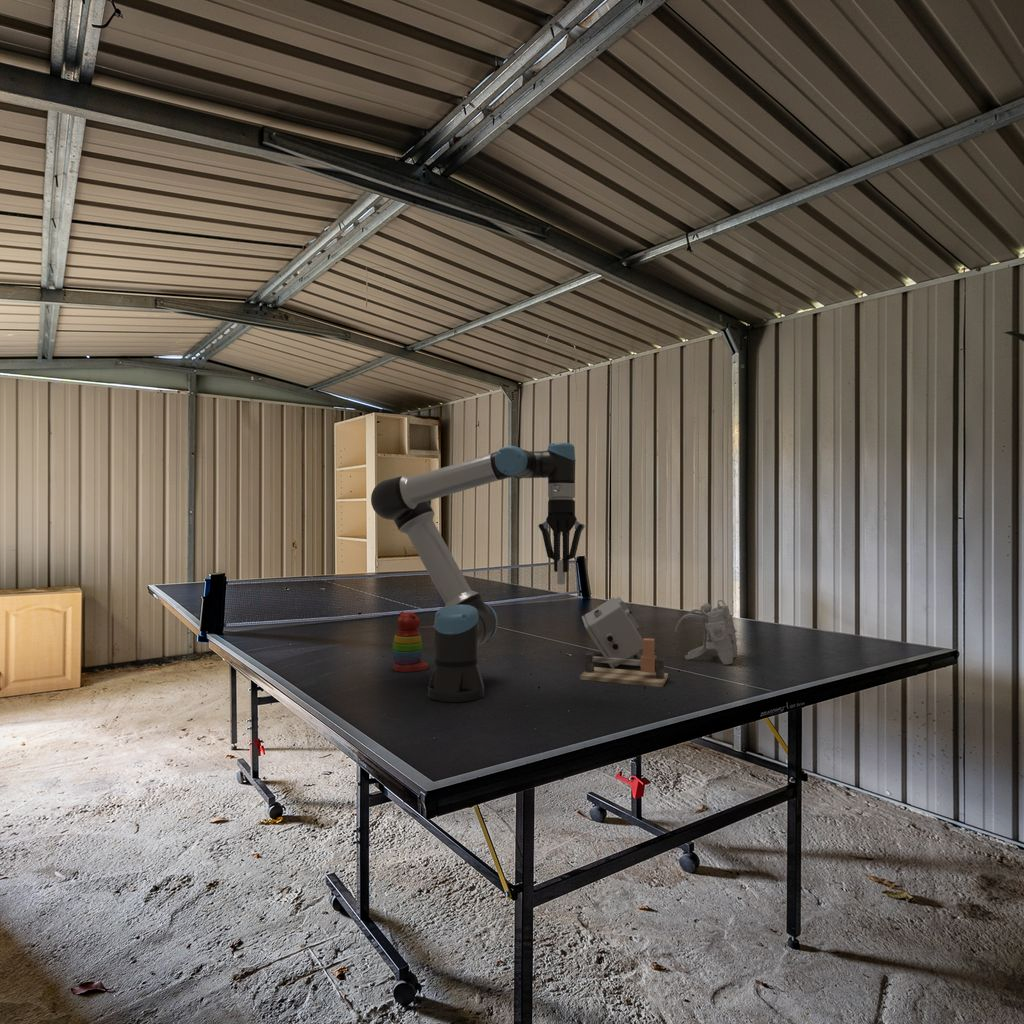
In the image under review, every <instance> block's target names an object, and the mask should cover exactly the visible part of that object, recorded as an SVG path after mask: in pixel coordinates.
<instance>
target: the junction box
mask: <svg viewBox="0 0 1024 1024" xmlns="http://www.w3.org/2000/svg"><path fill="white" fill-rule="evenodd" d="M581 619H582V623H583V625H584V627H585V628H584V629H585V630H586V631H587V632H588V635H589V637H590V638H591V640H592V641H593V642H594V643H595V645H596V647H597V649H598V650H599V652H600V653H601V654H602V655H601V656H602V657H609V658H621V659H634V660H641V656H642V655H643V652H641V651H643V639H644V638H642V636H641V634H640V633H639V631H638V630H637V629H639V628H640V625H639V623H638V621H637V620H636V619H635V617H634V616H633V612H632V610H630V609H629V608H628V606H627V605H626V603H625V601H623V599H622V598H621V597H620V596H618V597H616V598H615V597H612V598H610V599H608V600H607V601H605V602H603V603H602V604H600V605H599V606H597V607H596V608H594V609H592V610H591V611H589V612H586V613H585V614H584V615H581ZM634 656H636V657H634ZM607 664H608V665H609V666H610V668H611V669H616V667H618V666H620V665H621V664H612V663H607Z"/></svg>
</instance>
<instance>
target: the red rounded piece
mask: <svg viewBox="0 0 1024 1024" xmlns="http://www.w3.org/2000/svg"><path fill="white" fill-rule="evenodd" d="M420 624H421V620H420V618H419V616H417V614H415V613H414V612H411V611H410V612H409V611H407V612H405V611H401V612H399V616H398V617H397V627H398V630H397V631H396V632H395V635H394V636H393V642H392V647H391V649H392V656H393V662H394V663H393V666H392V669H393V670H394V671H396V672H401V673H402V672H404V673H409V672H411V673H412V672H419V671H425V670H428V669H429V667H430V665H429V663H427V662H425V661H422V660H421V658H422V654H423V642H422V636H421V634H420V633H421V632H419V630H417V629H418V628H419V627H420Z"/></svg>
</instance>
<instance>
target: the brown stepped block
mask: <svg viewBox="0 0 1024 1024" xmlns="http://www.w3.org/2000/svg"><path fill="white" fill-rule="evenodd" d="M642 639H643V649H642V656H641V666H640V671H641V672H649V673H655V672H656V667H655V661H656V659H657V658H658V657H657V655H655V651H656V650H655V648H656V647H655V642H656V641H655V640H656V639H655V638H646V637H644V638H642Z"/></svg>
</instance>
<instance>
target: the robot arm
mask: <svg viewBox="0 0 1024 1024" xmlns="http://www.w3.org/2000/svg"><path fill="white" fill-rule="evenodd" d="M575 450H576V449H575V445H574V444H572V443H570V442H553V443H552V442H551V443H549V444H548V447H547V450H540V451H538V450H537V451H536V450H535V451H532V450H531V451H529V450H526V449H523V448H520V447H518V446H517V445H506V446H503V447H501V448H500V449H499V450H497V451H495V452H492V453H488V454H484V455H481V456H477V457H474V458H471V459H467V460H465V461H461V462H458V463H454V464H451V465H448V466H443V467H440V468H437V469H434V470H430V471H427V472H424V473H419V474H417V475H414V476H408V475H405V474H404V475H402V476H401V475H400V476H397V477H393V478H388V479H384V480H382V481H380V482H379V483H377V484H376V486H375V487H374V488H373V490H372V493H371V496H370V500H371V501H370V502H371V507H372V509H373V511H374V512H375V513H376V514H377V515H378V516H379V517H381V518H382V519H385V520H390V521H391V520H392V521H393V522H394V524H395V525H396V527H397V529H398V531H399V532H400V533H403V534H405V535H407V537H408V538H409V540H410V542H411V544H412V546H413V547H414V549H415V551H416V554H417V555H418V557H419V559H420V560H421V562H422V564H423V566H424V568H425V569H426V571H427V573H428V575H429V577H430V579H431V580H432V581H431V582H433V584H434V586H435V588H436V590H437V592H438V594H439V595H440V597H441V599H442V601H443V603H444V604H445V606H443V607H441V608H439V609H438V610H437V611H436V612H435V615H434V622H433V627H434V629H433V630H434V632H433V633H434V637H433V638H434V640H433V641H434V642H433V643H434V645H433V646H434V666H433V671H432V673H431V677H430V680H429V683H428V685H427V697H428V698H429V699H432V700H434V701H438V702H443V703H444V702H446V703H463V702H464V703H465V702H471V701H475V700H478V699H481V698H482V697H484V696H485V685H484V681H483V678H482V676H481V675H482V674H481V672H480V669H479V665H478V664H479V660H478V659H479V655H478V654H479V649H478V647H480V646H482V645H484V644H486V643H488V642H490V640H491V639H492V638H493V637H494V635H495V634H496V632H497V629H498V627H499V626H498V625H499V619H498V615H497V613H496V611H495V610H494V608H493V607H492V606H490V605H489V604H488V603H485V601H484V599H483V598H482V596H481V595H480V592H477V591H474V590H472V589H471V587H470V585H469V583H468V582H467V580H466V578H465V576H464V575H463V573H462V571H461V569H460V567H459V565H458V564H457V562H456V560H455V559H454V555H452V553H451V551H450V549H449V547H448V545H447V544H446V542H445V540H444V538H443V536H442V535H441V533H440V531H439V529H438V528H437V525H436V524H435V522H434V520H433V519H434V517H435V511H434V510H433V508H432V506H431V505H432V500H435V499H439V498H442V497H446V496H449V495H453V494H456V493H459V492H462V491H466V490H469V489H475V488H477V487H481V486H483V485H484V486H485V485H487V484H490V483H494V482H497V481H501V480H505V479H518V480H521V479H539V478H542V479H545V478H547V497H548V498H549V499H548V501H547V517H546V519H545V521H544V522H542V523H539V524H538V529H539V530H540V531H541V534H542V537H543V538H542V539H543V544H544V547H545V552H546V557H547V558H548V559H552V560H553V571H554V573H557V574H556V577H557V579H556V580H557V585H561V586H562V585H565V584H566V573H568V572H569V570H570V569H569V568H570V566H569V565H570V564H569V563H570V560H572V559H575V558H576V555H577V551H578V546H579V542H580V539H581V535H582V531H583V530H584V529H585V527H586V526H585V524H584V523H580V522H579V521H578V519H577V517H576V500H575V499H574V498H576V461H577V459H576V451H575ZM549 528H550V529H551V531H552V535H553V546H552V541H551V535H550V531H549ZM573 528H574V530H575V531H574V534H573V538H572V542H571V545H570V533H571V530H572V529H573ZM561 536H562V558H561Z"/></svg>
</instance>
